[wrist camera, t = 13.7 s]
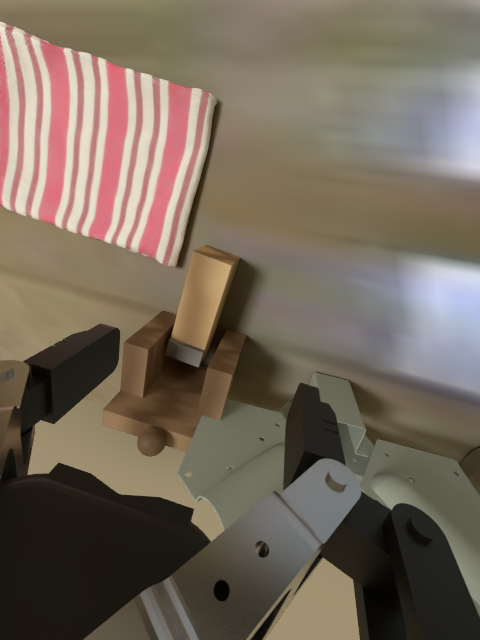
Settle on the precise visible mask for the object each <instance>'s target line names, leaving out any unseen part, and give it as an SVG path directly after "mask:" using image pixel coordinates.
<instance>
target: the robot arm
mask: <svg viewBox="0 0 480 640" xmlns="http://www.w3.org/2000/svg"><path fill="white" fill-rule="evenodd" d="M119 345H120V330H119V329H118V328H115V327H112V326H108V325H105V324H98V325H97V326H95V327H93V328H91V329H90V330H88V331H83V332H79V333H75V334H72V335H70V336H68V337H67V338H65V339H63V340H62V341H59V342H57V343H56V344H54V345H53V346H50V347H48V348H47V349H45V350H43V351H41V352H39V353H37V354H36V355H34V356H32V357H30V358H28V359H27V360H25V361H23V362H21V361H16V360H4V361H0V640H265V639H266V638H267V636H268V635H269V633H270V632H271V630H272V629H273V628H274V626H275V625H276V623H277V622H278V620H279V619H280V617H281V616H282V614H283V613H284V611H285V610H286V608H287V607H288V605H289V604H290V603H291V601H292V600H293V598H294V597H295V596H296V594H297V593H298V592H299V590H300V589H301V588H302V586H303V585H304V583H305V582H306V581H307V580H308V578H309V577H310V575H311V574H312V573H313V571H314V570H315V569H316V567H317V566H318V564H319V563H320V562H321V561H322V559H323V558H325V559H326V560H327V561H329V562H330V563H332V564H333V565H334V566H336V567H337V568H338V569H340V570H341V571H342V572H344V573H345V574H346V575H348V576H349V577H350V578H352V579H353V582H354V590H355V599H356V608H357V617H358V626H359V635H360V640H480V616H479V614H478V612H477V609H476V607H475V604H474V602H473V600H472V597H471V595H470V593H469V590H468V588H467V585H466V583H465V581H464V578H463V576H462V573H461V571H460V569H459V566H458V564H457V561H456V559H455V557H454V554H453V552H452V549H451V547H450V545H449V542H448V540H447V538H446V536H445V534H444V533H443V531H442V530H441V528H440V527H439V526H438V524H437V523H436V522H435V521H434V520H433V519H432V518H431V517H430V516H428V515H427V514H426V513H425V512H423V511H422V510H420V509H419V508H417V507H415V506H413V505H410V504H407V503H399V504H396V505H395V506H394V507H393V509H392V510H390V509H389V508H387V507H385V506H384V505H382V504H381V503H379V502H377V501H376V500H374V499H372V498H371V497H369V496H368V495H366V494H365V493H364V492H363V491H362V490H361V486H360V483H359V481H358V479H357V477H356V476H355V475H354V473H353V472H352V471H351V470H350V469H349V468H348V467H346V462H345V457H344V452H343V448H342V443H341V438H340V435H339V428H338V426H337V425H338V423H337V418H336V414H335V412H334V411H333V409H332V408H331V406H330V405H329V404H328V403H324V402H321V401H320V393H319V388H317V387H314V386H310V385H307V384H304V383H300V384H299V386H298V388H297V391H296V393H295V396H294V399H293V402H292V404H291V407H290V410H289V412H288V416H287V420H286V428H285V453H284V477H283V492H282V493H280V494H278V493H277V492H276V491H273V492H271V493H269V494H268V495H267V496H265V497H264V498H263V499H262V500H261V501H259V502H258V503H257V504H256V505H255V506H253V507H252V508H251V509H250V510H249V511H247V512H246V513H245V514H244V515H243V516H242V517H240V518H239V519H238V520H237V521H236V522H234V523H233V524H232V525H231V526H230V527H228V528H227V529H226V530H225V531H224V532H222V533H221V534H220V535H219V536H218V537H217V538H216V539H214V540H213V541H212V542H211V541H210V540H209V539H208V537H207V536H206V535H205V534H204V533H203V532H202V531H201V530H200V529H199V528H198V527H197V526H196V525H194V524H193V523H192V522H191V519H192V515H193V511H194V509H192V508H189V507H186V506H183V505H181V504H177V503H175V502H172V501H169V500H166V499H163V498H160V497H148V496H132V495H121V494H118V493H116V492H115V491H114V490H112V489H111V488H110V487H108V486H107V485H106V484H104V483H103V482H102V481H100V480H99V479H97V478H96V477H95V476H93V475H92V474H90V473H88V472H85V471H82V470H79V469H76V468H73V467H70V466H67V465H64V464H61V463H58V464H57V465H56V466H55V467H54V468H53V469H52V471H51V472H50V473H49V474H33V475H27V474H28V468H29V462H30V456H31V451H32V446H33V440H34V435H35V424H36V423H37V422H39V421H40V420H43V421H46V422H49V423H52V424H55V423H56V422H57V421H58V420H59V419H60V418H61V417H63V416H64V415H65V414H66V413H67V412H68V411H69V410H71V409H72V408H73V407H74V406H75V405H76V404H77V403H78V402H80V401H81V400H82V399H83V398H84V397H85V396H86V395H88V394H89V393H90V392H91V391H92V390H93V389H94V388H95V387H97V386H98V385H99V384H100V383H101V382H102V381H103V380H105V379H106V378H107V377H108V376H109V375H110V374H111V373H112V372H113V371H114V370H115V368H116V366H117V364H118V360H119ZM461 469H462V470H463V472H464V473H465V475H466V476H467V478H468V479H469V481H470V483H471V484H472V486H473V487H474V489H475V490H476V492H477V493H478V495H479V496H480V447H479V448H477V449H475V450H474V451H472V452H471V453H470V454H469V455H468V456H467V457H466V458H465V459H464V460H463V462H462V464H461Z"/></svg>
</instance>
